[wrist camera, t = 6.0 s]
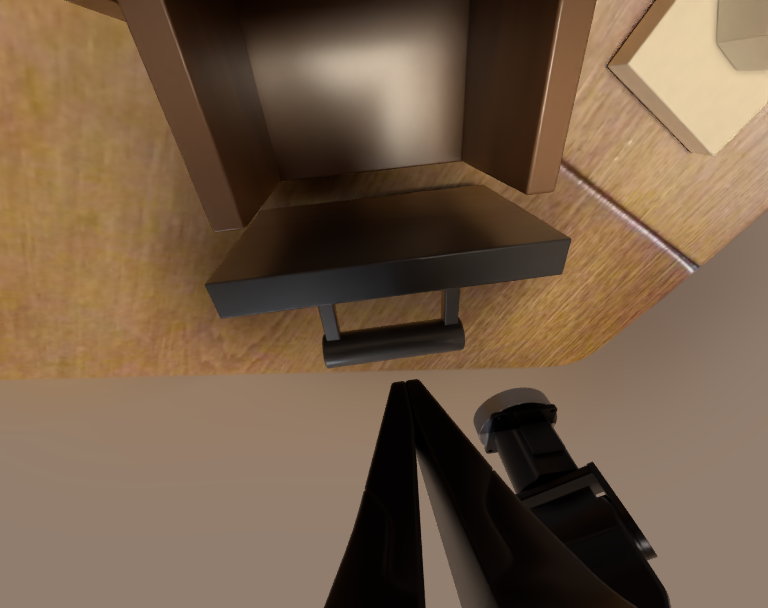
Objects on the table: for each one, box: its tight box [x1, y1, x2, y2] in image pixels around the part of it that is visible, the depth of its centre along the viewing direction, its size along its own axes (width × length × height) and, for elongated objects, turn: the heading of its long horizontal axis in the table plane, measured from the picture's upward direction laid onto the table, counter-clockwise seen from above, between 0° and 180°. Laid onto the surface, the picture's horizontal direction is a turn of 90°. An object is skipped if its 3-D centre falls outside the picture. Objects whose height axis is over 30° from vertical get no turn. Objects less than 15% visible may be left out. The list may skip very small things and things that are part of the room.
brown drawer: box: [117, 0, 597, 368], centre depth 10 cm, size 17×10×7 cm, turn 5°
